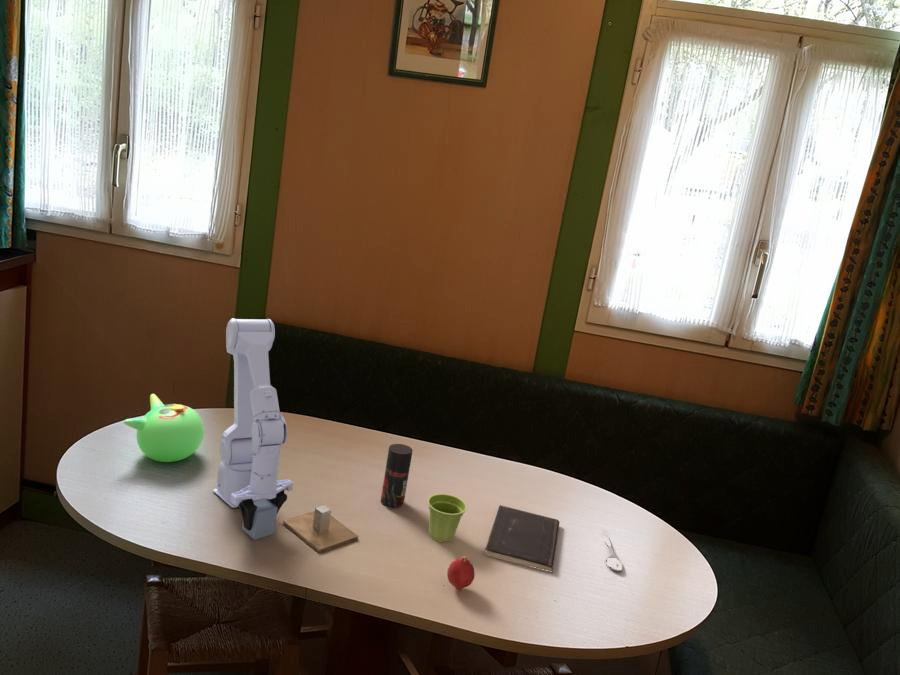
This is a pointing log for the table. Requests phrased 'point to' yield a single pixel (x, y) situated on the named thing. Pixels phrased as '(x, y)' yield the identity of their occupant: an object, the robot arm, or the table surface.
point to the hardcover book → (523, 538)
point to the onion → (461, 573)
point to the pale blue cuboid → (263, 519)
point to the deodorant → (396, 475)
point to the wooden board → (320, 529)
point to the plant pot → (444, 516)
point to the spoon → (613, 557)
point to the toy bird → (168, 431)
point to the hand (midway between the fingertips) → (258, 524)
